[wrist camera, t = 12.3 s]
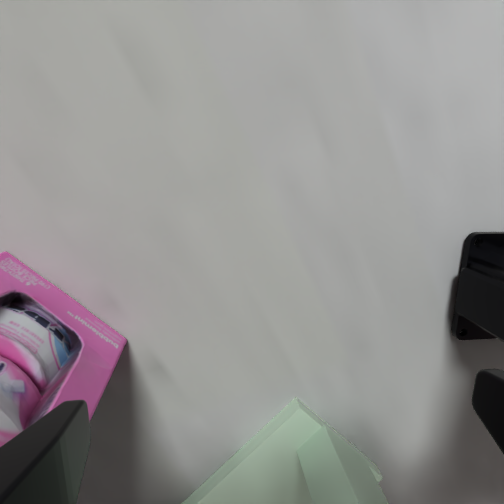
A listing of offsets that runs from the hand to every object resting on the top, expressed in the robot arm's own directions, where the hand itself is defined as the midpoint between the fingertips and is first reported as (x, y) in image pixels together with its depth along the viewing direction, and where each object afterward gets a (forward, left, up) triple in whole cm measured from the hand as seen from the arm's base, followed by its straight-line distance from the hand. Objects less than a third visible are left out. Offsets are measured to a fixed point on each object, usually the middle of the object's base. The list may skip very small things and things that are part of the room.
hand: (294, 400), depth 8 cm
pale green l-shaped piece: (-2, +15, -12) cm, 20 cm away
